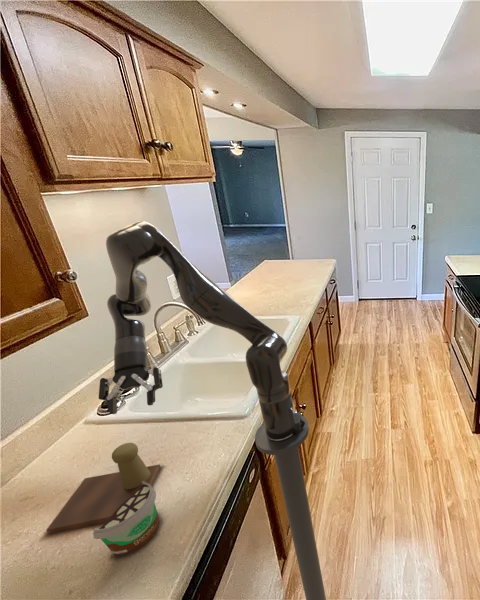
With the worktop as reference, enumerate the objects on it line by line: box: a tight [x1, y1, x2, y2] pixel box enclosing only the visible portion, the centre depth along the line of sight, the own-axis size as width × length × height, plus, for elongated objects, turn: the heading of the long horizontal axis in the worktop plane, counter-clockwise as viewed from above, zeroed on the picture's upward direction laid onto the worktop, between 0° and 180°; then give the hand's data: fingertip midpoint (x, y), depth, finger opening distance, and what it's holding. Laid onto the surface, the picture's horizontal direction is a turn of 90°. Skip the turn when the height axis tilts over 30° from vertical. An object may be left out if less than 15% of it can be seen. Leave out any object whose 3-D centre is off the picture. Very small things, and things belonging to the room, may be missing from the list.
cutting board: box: [46, 464, 162, 535], centre depth 84 cm, size 18×14×2 cm
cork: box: [111, 442, 150, 489], centre depth 85 cm, size 6×6×11 cm
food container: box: [92, 481, 160, 557], centre depth 73 cm, size 12×6×10 cm, turn 170°
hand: (132, 409), depth 92 cm, fingers open, 8 cm apart
